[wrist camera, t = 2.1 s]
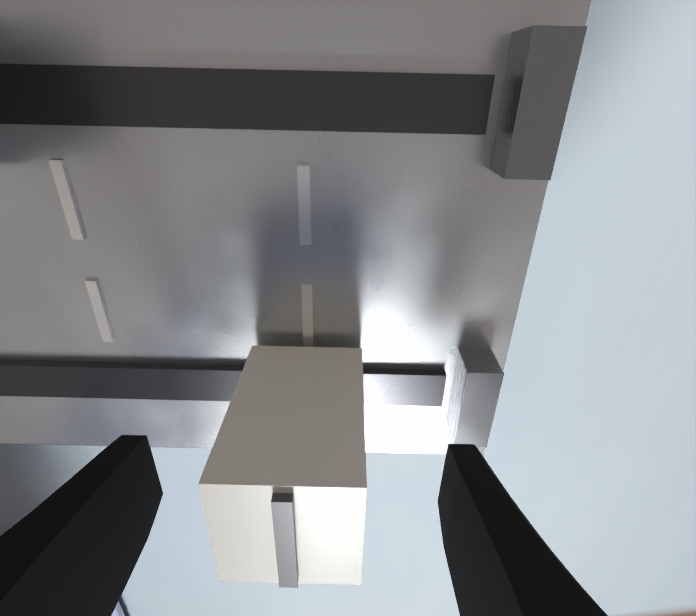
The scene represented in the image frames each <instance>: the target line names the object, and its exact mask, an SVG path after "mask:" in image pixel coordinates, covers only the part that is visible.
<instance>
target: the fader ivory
mask: <svg viewBox="0 0 696 616" xmlns="http://www.w3.org/2000/svg"><path fill="white" fill-rule="evenodd" d="M198 485H199V490H200V494H201V499H202V504H203V508H204V513H205V518H206V522H207V527H208V532H209V536H210V541H211V546H212V550H213V555H214V560H215V564H216V569H217V574H218V578H219V581H226V582H266V583H279V587H294V588H298V583H307V584H348V585H361V575H362V559H363V542H364V525H365V508H366V491H367V481H366V450H365V418H364V386H363V354H362V348H337V347H295V346H253V345H252V347H251V350H250V352H249V355H248V357H247V360H246V363H245V365H244V368H243V370H242V373H241V375H240V378H239V381H238V383H237V386H236V388H235V391H234V393H233V396H232V399H231V401H230V404H229V406H228V409H227V411H226V414H225V417H224V419H223V422H222V424H221V427H220V429H219V432H218V435H217V437H216V440H215V442H214V445H213V447H212V450H211V453H210V455H209V458H208V460H207V463H206V465H205V468H204V471H203V473H202V476H201V478H200V481H199V483H198Z"/></svg>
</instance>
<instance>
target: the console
mask: <svg viewBox="0 0 696 616" xmlns="http://www.w3.org/2000/svg"><path fill="white" fill-rule="evenodd" d="M590 2H591V0H0V443H7V444H49V445H90V446H109V445H110V444H111V443H112V442H113V441H115V440H116V439H117V438H118V437H119V436H121V435H147V438H148V441H149V445H150V447H173V448H212V447H213V445H214V442H215V440H216V437H217V435H218V432H219V429H220V427H221V424H222V422H223V419H224V417H225V414H226V411H227V409H228V406H229V404H230V401H231V399H232V396H233V393H234V391H235V388H236V386H237V383H238V381H239V378H240V375H241V373H242V370H243V368H244V365H245V363H246V360H247V357H248V355H249V352H250V350H251V347H252V345H253V346H295V347H337V348H362V354H363V386H364V418H365V450H366V452H381V453H423V454H446V453H447V448H448V444H474V445H475V446H476V447H477V448H478V449H479V451H480V452H481V454H482V455H483V454H484V449H485V447H487V443H488V438H489V434H490V430H491V426H492V422H493V418H494V413H495V409H496V405H497V401H498V397H499V392H500V388H501V384H502V380H503V376H504V373H503V369H504V365H505V361H506V357H507V352H508V348H509V344H510V340H511V336H512V331H513V327H514V323H515V319H516V314H517V310H518V306H519V302H520V298H521V293H522V289H523V285H524V281H525V276H526V272H527V268H528V264H529V260H530V255H531V251H532V247H533V243H534V238H535V234H536V230H537V226H538V222H539V217H540V213H541V209H542V205H543V200H544V196H545V192H546V188H547V184H548V180H550V179H551V175H552V171H553V167H554V162H555V158H556V154H557V150H558V146H559V142H560V137H561V133H562V129H563V125H564V121H565V116H566V112H567V108H568V104H569V100H570V96H571V91H572V87H573V83H574V79H575V75H576V70H577V66H578V62H579V58H580V54H581V50H582V45H583V41H584V37H585V33H586V29H587V26H585V23H586V19H587V15H588V11H589V6H590Z"/></svg>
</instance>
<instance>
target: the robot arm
mask: <svg viewBox="0 0 696 616" xmlns="http://www.w3.org/2000/svg"><path fill="white" fill-rule="evenodd" d="M162 495H163V492H162V488H161V484H160V481H159V477H158V474H157V470H156V466H155V463H154V459H153V456H152V452H151V449H150V445H149V441H148V438H147V435H121V436H119V437H118V438H117V439H116V440H115V441H113V442H112V443H111V444H110V445H109V446H108V447H106V448H105V449H104V450H103V451H102V452H101V453H99V454H98V455H97V456H96V457H95V458H94V459H93V460H91V461H90V462H89V463H88V464H87V465H86V466H85V467H83V468H82V469H81V470H80V471H79V472H78V473H76V474H75V475H74V476H73V477H72V478H71V479H69V480H68V481H67V482H66V483H65V484H64V485H62V486H61V487H60V488H59V489H58V490H56V491H55V492H54V493H53V494H52V495H51V496H49V497H48V498H47V499H46V500H45V501H43V502H42V503H41V504H40V505H39V506H38V507H36V508H35V509H34V510H33V511H32V512H30V513H29V514H28V515H27V516H25V517H24V518H23V519H22V520H20V521H19V522H18V523H17V524H15V525H14V526H13V527H11V528H10V529H9V530H8V531H6V532H5V533H4V534H3V535H1V536H0V616H125V615H124V612H123V610H122V608H121V605H120V603H119V599H120V597H121V594H122V592H123V590H124V588H125V586H126V584H127V582H128V580H129V578H130V575H131V573H132V571H133V569H134V567H135V565H136V563H137V560H138V558H139V556H140V554H141V552H142V550H143V548H144V545H145V543H146V541H147V539H148V536H149V533H150V531H151V528H152V525H153V522H154V519H155V516H156V513H157V510H158V507H159V504H160V501H161V498H162ZM438 506H439V514H440V522H441V530H442V537H443V544H444V549H445V554H446V558H447V562H448V566H449V571H450V575H451V579H452V584H453V588H454V592H455V596H456V600H457V604H458V609H459V613H460V616H608V615H607V614H606V613H605V612H604V611H603V610H602V609H601V608H600V607H599V606H598V605H597V604H596V602H595V601H594V600H593V599H592V598H591V597H590V596H589V595H588V593H587V592H586V591H585V590H584V589H583V588H582V587H581V585H580V584H579V583H578V582H577V581H576V580H575V578H574V577H573V576H572V575H571V574H570V572H569V571H568V570H567V569H566V568H565V566H564V565H563V564H562V563H561V562H560V560H559V559H558V558H557V557H556V556H555V554H554V553H553V552H552V551H551V549H550V548H549V547H548V546H547V544H546V543H545V542H544V541H543V539H542V538H541V537H540V535H539V534H538V533H537V531H536V530H535V529H534V527H533V526H532V525H531V524H530V522H529V521H528V520H527V518H526V517H525V516H524V514H523V513H522V512H521V510H520V509H519V508H518V506H517V505H516V503H515V502H514V501H513V499H512V498H511V497H510V495H509V494H508V492H507V491H506V489H505V488H504V487H503V485H502V484H501V482H500V481H499V479H498V478H497V476H496V475H495V474H494V472H493V471H492V469H491V468H490V466H489V465H488V463H487V462H486V460H485V459H484V457H483V456H482V454H481V452H480V451H479V449H478V448H477V447H476V446H475V445H474V444H448V448H447V453H446V459H445V464H444V470H443V475H442V481H441V486H440V492H439V497H438Z"/></svg>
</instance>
